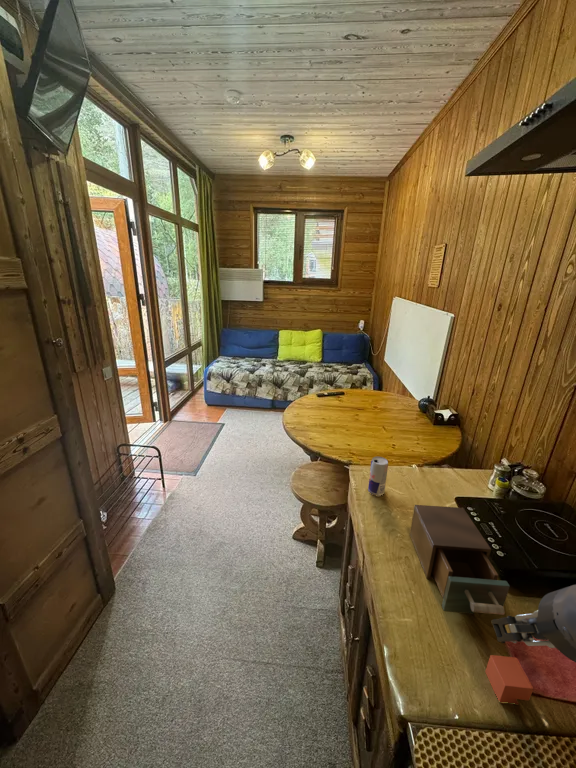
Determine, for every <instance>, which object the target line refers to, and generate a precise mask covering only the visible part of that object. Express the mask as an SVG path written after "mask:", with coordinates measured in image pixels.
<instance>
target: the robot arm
mask: <svg viewBox="0 0 576 768" xmlns="http://www.w3.org/2000/svg"><path fill="white" fill-rule="evenodd" d="M490 622H491V625H492V627H493V630H494V633H495V635H496V640H497V642H498V643H501V644H505V643H512V644H518V643H524V644H525V645H526V646H528V647H548V648H549V649H556V650H558V652H559V653H561V654H562V655H563V656H564V657H566V658H568V659H569V660H570V661H573V662H574V663H576V583H575V584H572V585H570V586H565V587H562V588H560V589H557V590H554V591H551V592H548V593H546V594H545V595H543V597H542V598H541V599H540V601H539V603H538V607H537V610H534V611H533V612H532V613H525V614H516V615H515V616H512V615H507V616H505V617H501V618H493V619H492V620H490Z"/></svg>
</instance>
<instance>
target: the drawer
mask: <svg viewBox="0 0 576 768" xmlns="http://www.w3.org/2000/svg"><path fill="white" fill-rule="evenodd" d="M432 574H433V576H434V579H433V580H434V581H435V583H436V585H437V588H438V590H439V593H440V595H441V598H442V603H441V607H442V610H443V612H450V613H460V614H461V613H462V614H472V615H474V614H475V613H478V614H479V613H481V614H491V615H493V614H494V615H503V616H504V615H505V613H506V612H505V608H504V606H505V603H506V600H507V597H508V595H509V591H510V584H509V583H508V581H507V580H500V579H499V573H498V572H497V571H496V569H495V567H494V566H493V564H492V562H491V561H490V559H489V560H488V558H487V556H486V555H485V553H484V552H483V551H470V550H457V549H444V548H436V552H435V557H434V562H433V567H432Z"/></svg>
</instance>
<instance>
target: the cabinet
mask: <svg viewBox="0 0 576 768" xmlns="http://www.w3.org/2000/svg"><path fill="white" fill-rule="evenodd" d="M409 530H410V531H409V537H410V539H411V542H412V545H413V548H414V550H415V552H416V555H417V557H418V560H419V562H420V565H421V568H422V571H423V573H424V575H425V578H426V580H435V579H434V576H433V574H432V567H433V562H434V557H435V552H436V548H444V549H457V550H470V551H483V552H484V553H485V555H486V556H487V558H488V560H489V561H490V556H491V552H492V548H491V547H490V545H489V543H488V542H487V541H486V539H485V538H484V537H483V535H482V533H481V532H480V530H479V529H478V528H477V526H476V524H475V523H474V522H473V520H472V519H471V517H470V515H469V514H468V513H467V511H466V509H465V508H464V507H458V506H456V507H455V506H440V505H428V504H427V505H426V504H414V507H413V512H412V517H411V524H410V529H409Z"/></svg>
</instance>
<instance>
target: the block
mask: <svg viewBox="0 0 576 768" xmlns="http://www.w3.org/2000/svg"><path fill="white" fill-rule="evenodd" d="M484 672H485V674H486V677H487V678H488V681H489V683H490V686H491V688H492V689H493V693H494V695H495V694H496V695H495V697H496V696H497V697H496V699H497V698H498V699H497V701H498V700H499V701H500V702H508V703H515V704H519V700H521V701H522V700H523V701H530V699H531V696H532V694H533V692H534V687H533V685H532V683H531V682H530V680H529V678H528V676H527V674H526V672H525V670H524V669H523V667H522V664H521V663H520V661H519V659H518V658H517V657H515V656H513V657H512V656H503V655H495V654H494V655H492V654H490V655H489V659H488V661H487V665H486V668H485V671H484ZM499 701H498V702H499ZM519 705H520V704H519Z"/></svg>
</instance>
